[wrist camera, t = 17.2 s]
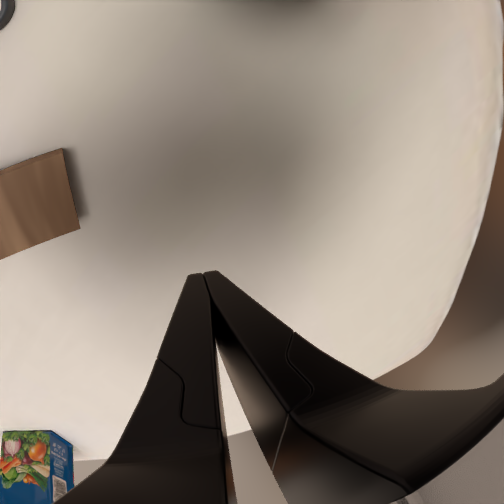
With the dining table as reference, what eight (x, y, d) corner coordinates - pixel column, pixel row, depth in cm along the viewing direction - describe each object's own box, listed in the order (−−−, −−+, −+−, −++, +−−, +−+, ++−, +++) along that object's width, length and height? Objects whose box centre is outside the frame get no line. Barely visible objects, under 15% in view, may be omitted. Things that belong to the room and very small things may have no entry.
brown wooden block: (62, 152, 14) (-49, 198, 10) (80, 228, 17) (-22, 269, 13) (62, 148, 15) (-42, 189, 11) (78, 218, 18) (-18, 256, 14)
